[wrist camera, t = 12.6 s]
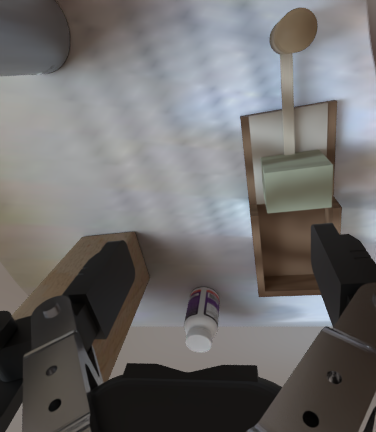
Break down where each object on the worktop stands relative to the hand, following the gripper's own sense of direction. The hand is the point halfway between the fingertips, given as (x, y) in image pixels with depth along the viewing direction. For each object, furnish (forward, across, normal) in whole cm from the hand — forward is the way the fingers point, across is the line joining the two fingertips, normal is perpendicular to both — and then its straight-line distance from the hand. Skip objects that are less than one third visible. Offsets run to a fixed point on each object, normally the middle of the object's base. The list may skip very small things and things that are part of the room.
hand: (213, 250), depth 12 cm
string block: (+27, -7, 0) cm, 28 cm away
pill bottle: (+28, +8, +29) cm, 41 cm away
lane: (+28, -7, +12) cm, 31 cm away
